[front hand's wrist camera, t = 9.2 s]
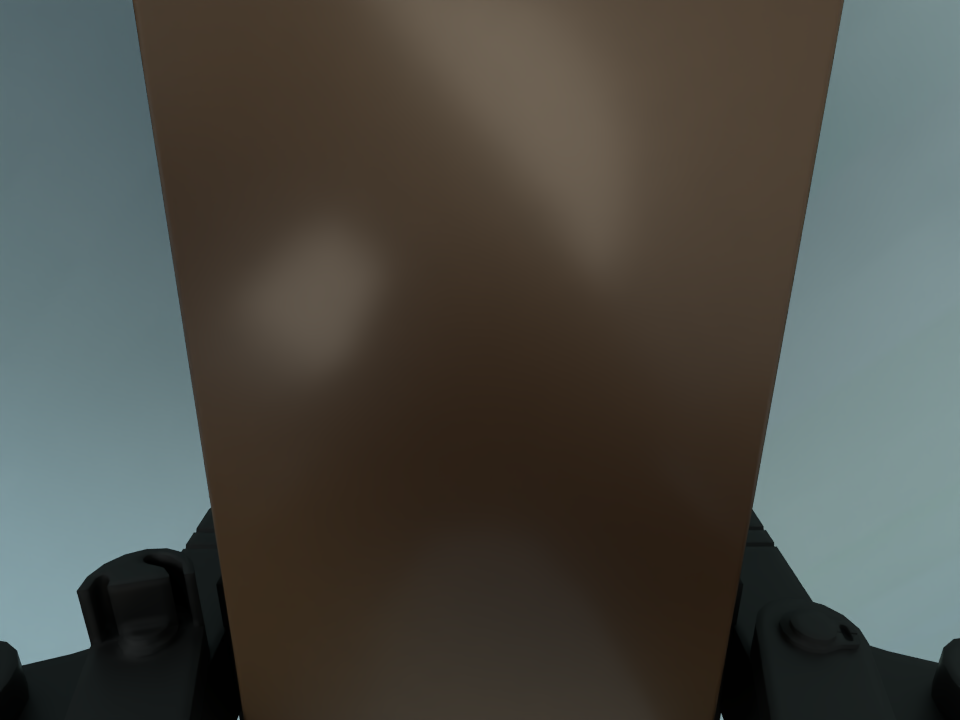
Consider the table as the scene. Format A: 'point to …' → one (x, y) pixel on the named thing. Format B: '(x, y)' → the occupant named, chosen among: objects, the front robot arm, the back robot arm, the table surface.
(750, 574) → the front robot arm
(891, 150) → the table surface
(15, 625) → the table surface
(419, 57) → the post
